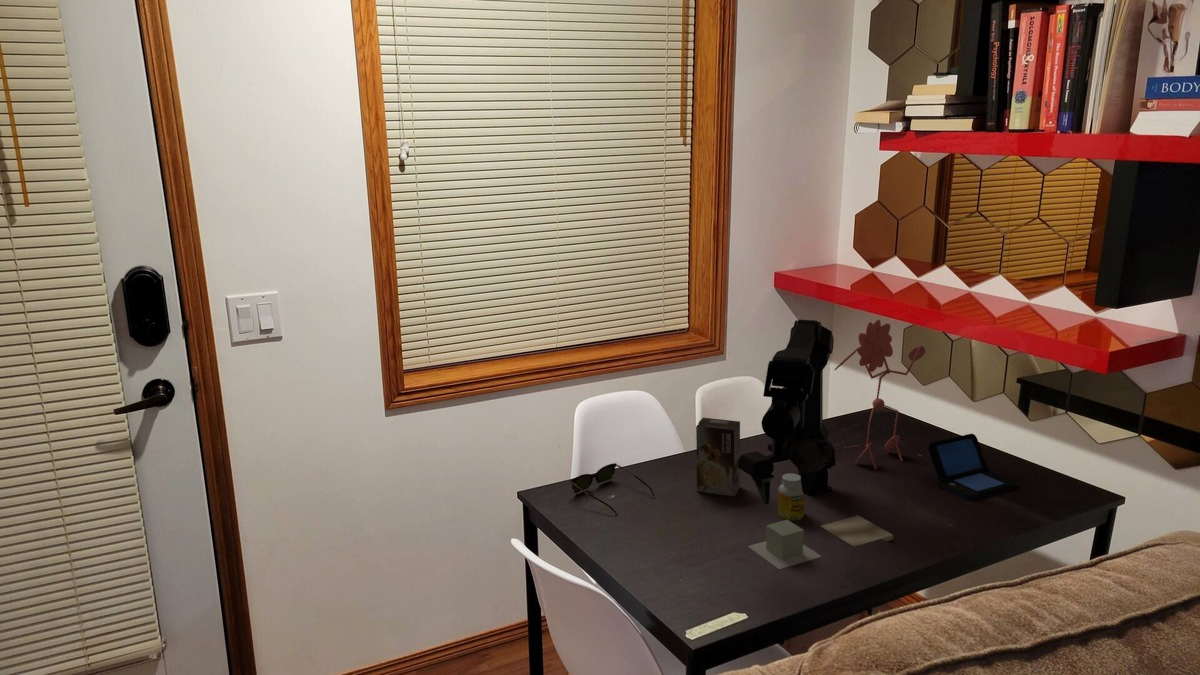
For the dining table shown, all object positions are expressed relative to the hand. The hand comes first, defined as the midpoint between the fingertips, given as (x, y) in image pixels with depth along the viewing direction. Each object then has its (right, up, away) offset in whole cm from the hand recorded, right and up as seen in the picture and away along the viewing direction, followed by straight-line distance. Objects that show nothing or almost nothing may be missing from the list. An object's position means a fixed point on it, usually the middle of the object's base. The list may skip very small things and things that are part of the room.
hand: (785, 498), depth 161 cm
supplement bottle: (+5, -8, +18) cm, 20 cm away
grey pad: (0, -12, +3) cm, 12 cm away
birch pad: (+17, -9, +10) cm, 22 cm away
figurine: (+31, +1, +50) cm, 59 cm away
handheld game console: (+50, -3, +33) cm, 60 cm away
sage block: (0, -11, +3) cm, 11 cm away
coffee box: (-8, -4, +34) cm, 35 cm away
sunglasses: (-32, -6, +31) cm, 45 cm away
